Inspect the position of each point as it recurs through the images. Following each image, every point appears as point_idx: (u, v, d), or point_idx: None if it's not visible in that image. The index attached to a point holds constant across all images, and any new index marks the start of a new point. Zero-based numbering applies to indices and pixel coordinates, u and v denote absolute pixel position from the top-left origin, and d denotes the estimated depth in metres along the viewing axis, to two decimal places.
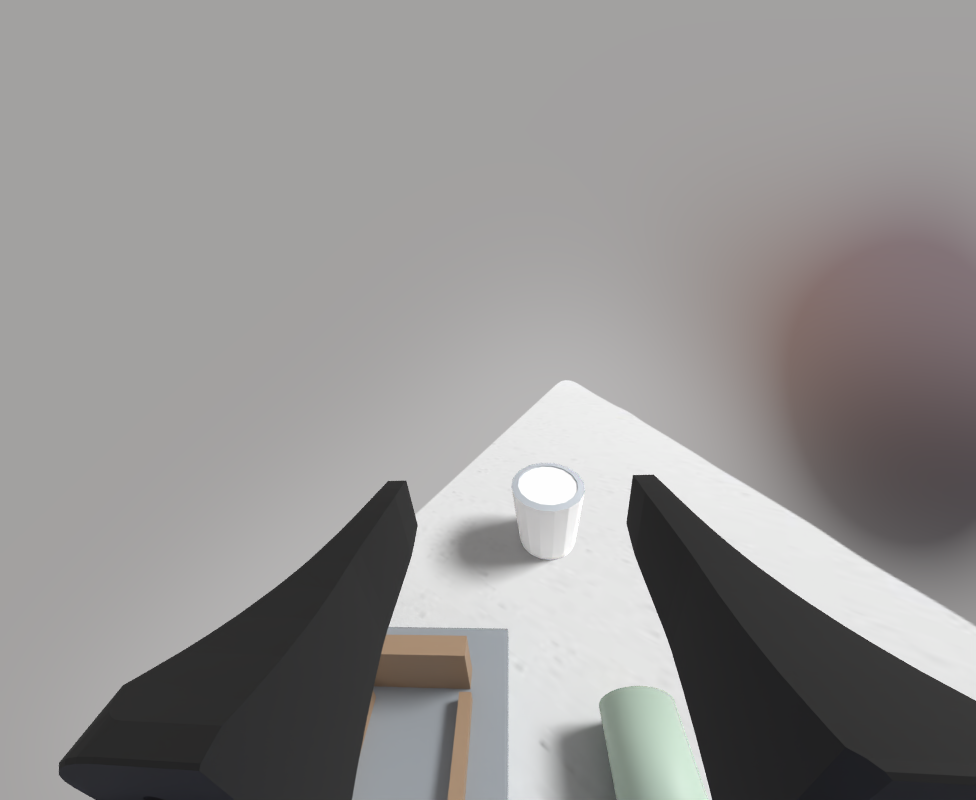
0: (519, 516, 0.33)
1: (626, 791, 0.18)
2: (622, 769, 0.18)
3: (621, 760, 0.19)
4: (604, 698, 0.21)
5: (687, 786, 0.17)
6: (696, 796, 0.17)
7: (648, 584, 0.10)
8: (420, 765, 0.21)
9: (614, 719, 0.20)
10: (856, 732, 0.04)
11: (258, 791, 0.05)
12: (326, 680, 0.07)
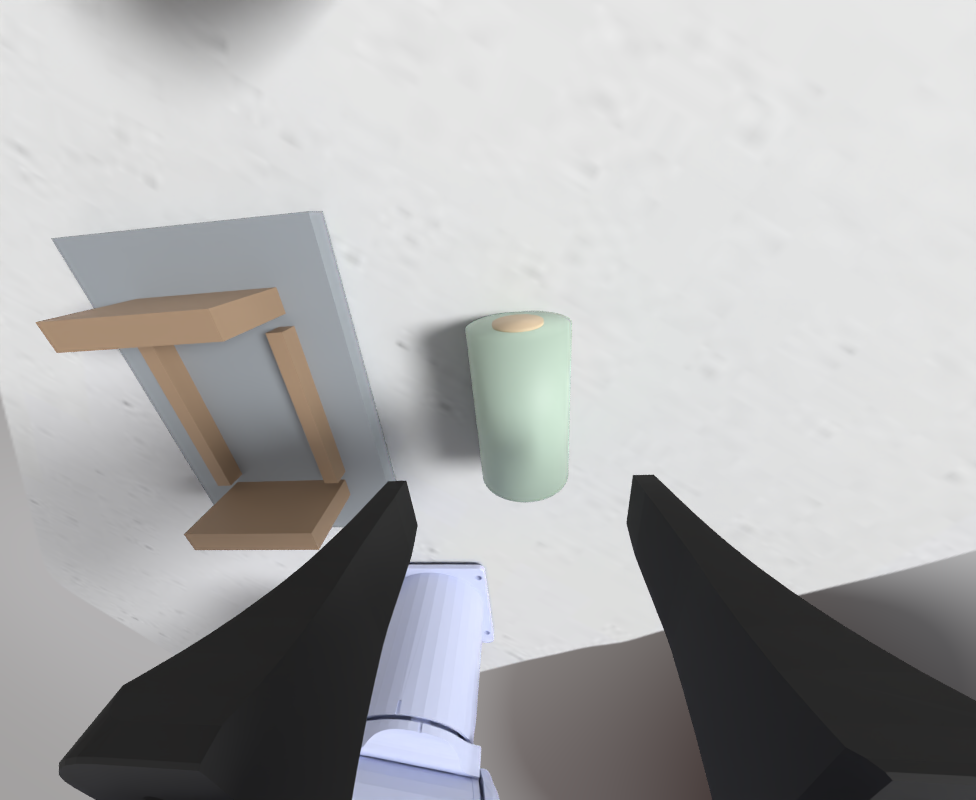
0: None
1: (483, 424, 0.16)
2: (482, 409, 0.15)
3: (482, 403, 0.15)
4: (470, 338, 0.14)
5: (548, 428, 0.15)
6: (555, 430, 0.15)
7: (648, 584, 0.10)
8: (265, 390, 0.18)
9: (480, 368, 0.14)
10: (857, 731, 0.04)
11: (258, 790, 0.05)
12: (326, 680, 0.07)
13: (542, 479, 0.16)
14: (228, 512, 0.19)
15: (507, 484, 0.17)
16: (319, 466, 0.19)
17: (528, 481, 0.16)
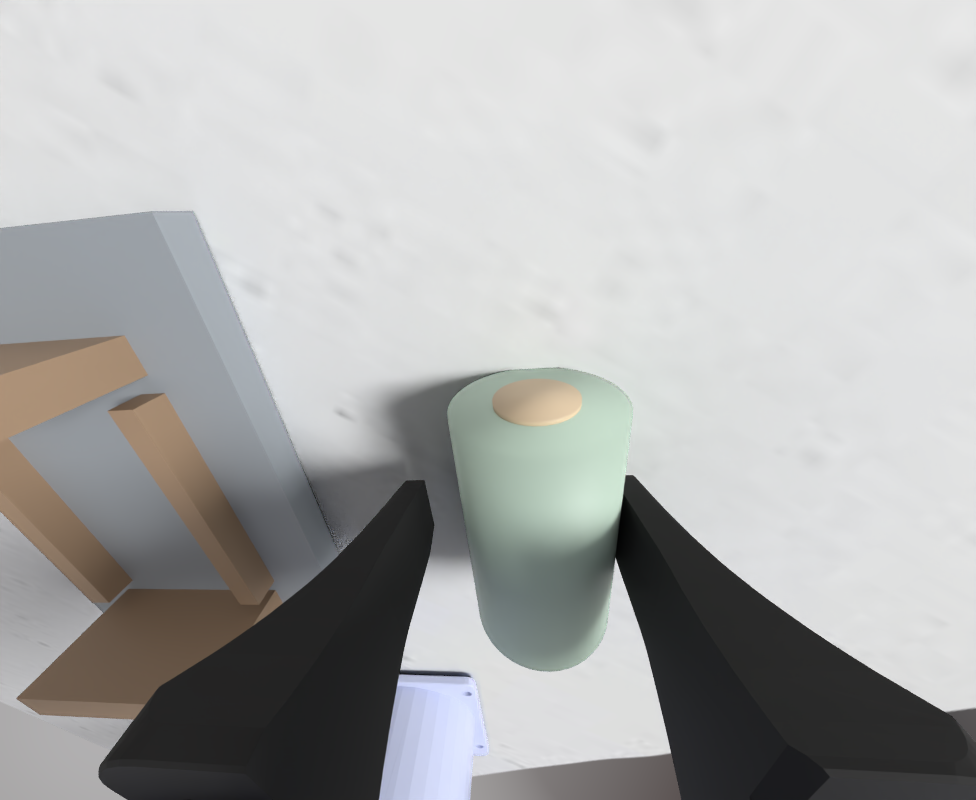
0: None
1: (488, 569, 0.09)
2: (486, 550, 0.09)
3: (487, 542, 0.09)
4: (464, 443, 0.08)
5: (600, 569, 0.09)
6: (608, 566, 0.09)
7: (626, 584, 0.10)
8: (141, 479, 0.12)
9: (484, 493, 0.08)
10: (801, 729, 0.04)
11: (297, 794, 0.05)
12: (355, 681, 0.07)
13: (586, 636, 0.10)
14: (95, 652, 0.13)
15: (530, 651, 0.10)
16: (228, 585, 0.13)
17: (566, 645, 0.10)
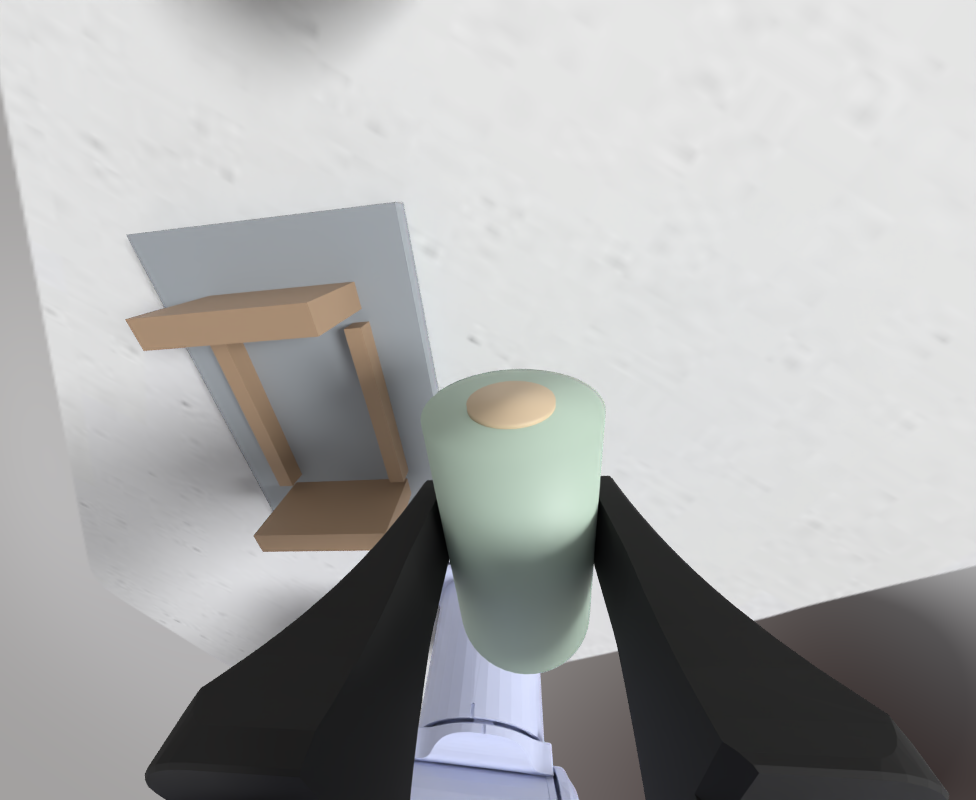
0: None
1: (450, 555, 0.10)
2: (447, 536, 0.09)
3: (446, 529, 0.09)
4: (423, 432, 0.08)
5: (554, 585, 0.09)
6: (567, 585, 0.09)
7: (601, 584, 0.10)
8: (333, 387, 0.18)
9: (438, 482, 0.08)
10: (738, 727, 0.04)
11: (342, 796, 0.05)
12: (390, 682, 0.07)
13: (542, 649, 0.10)
14: (294, 513, 0.19)
15: (486, 644, 0.10)
16: (385, 465, 0.19)
17: (519, 650, 0.10)
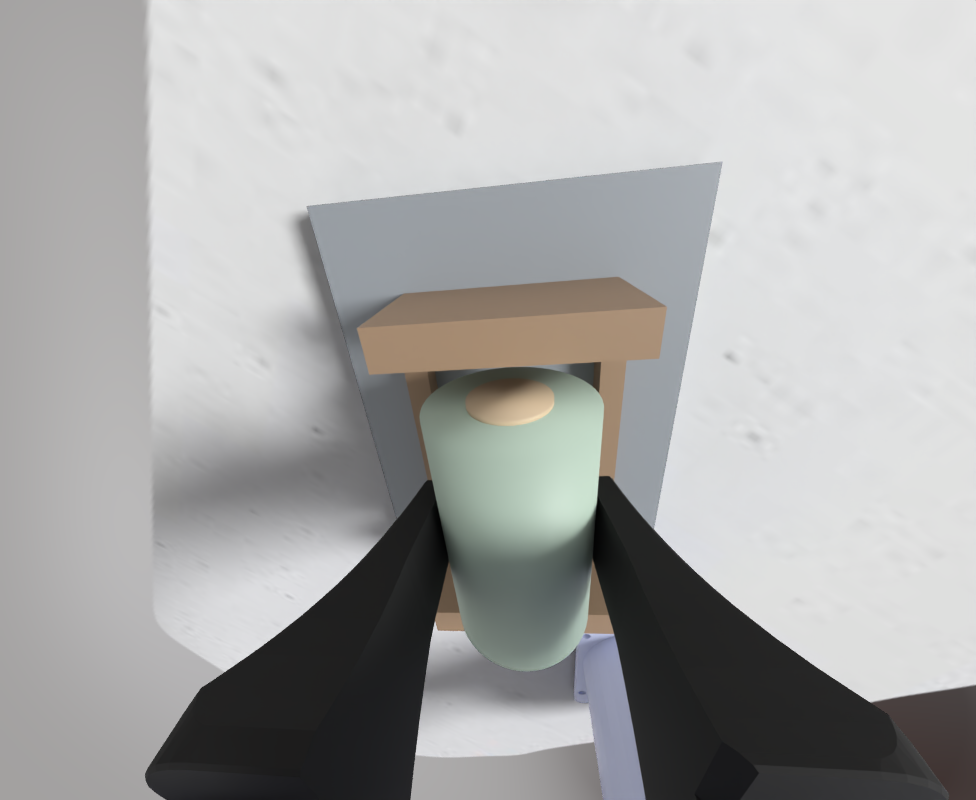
0: None
1: (448, 550, 0.10)
2: (445, 532, 0.10)
3: (444, 525, 0.09)
4: (421, 428, 0.08)
5: (550, 583, 0.09)
6: (564, 583, 0.09)
7: (601, 584, 0.10)
8: None
9: (435, 478, 0.08)
10: (737, 727, 0.04)
11: (343, 796, 0.05)
12: (390, 682, 0.07)
13: (539, 646, 0.10)
14: None
15: (483, 640, 0.10)
16: None
17: (516, 647, 0.10)
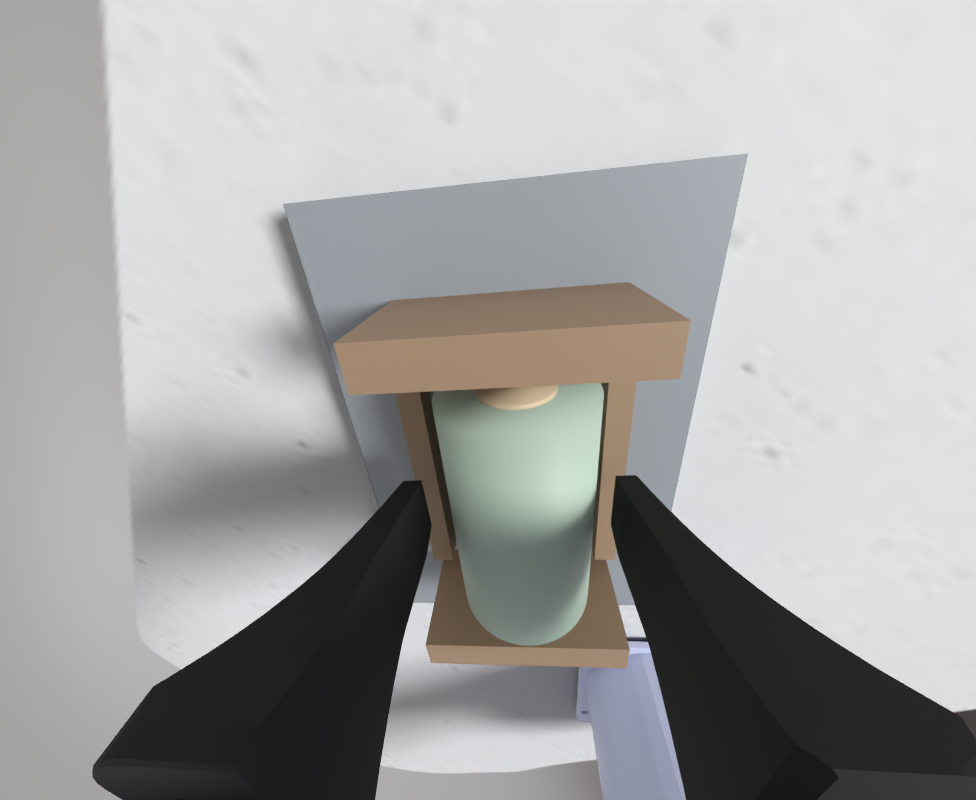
0: None
1: (459, 533, 0.10)
2: (456, 515, 0.10)
3: (455, 508, 0.10)
4: (435, 415, 0.09)
5: (558, 556, 0.09)
6: (570, 556, 0.10)
7: (629, 584, 0.10)
8: None
9: (449, 462, 0.09)
10: (809, 730, 0.04)
11: (291, 793, 0.05)
12: (351, 681, 0.07)
13: (547, 619, 0.11)
14: (468, 604, 0.14)
15: (493, 618, 0.11)
16: (597, 539, 0.14)
17: (525, 621, 0.11)
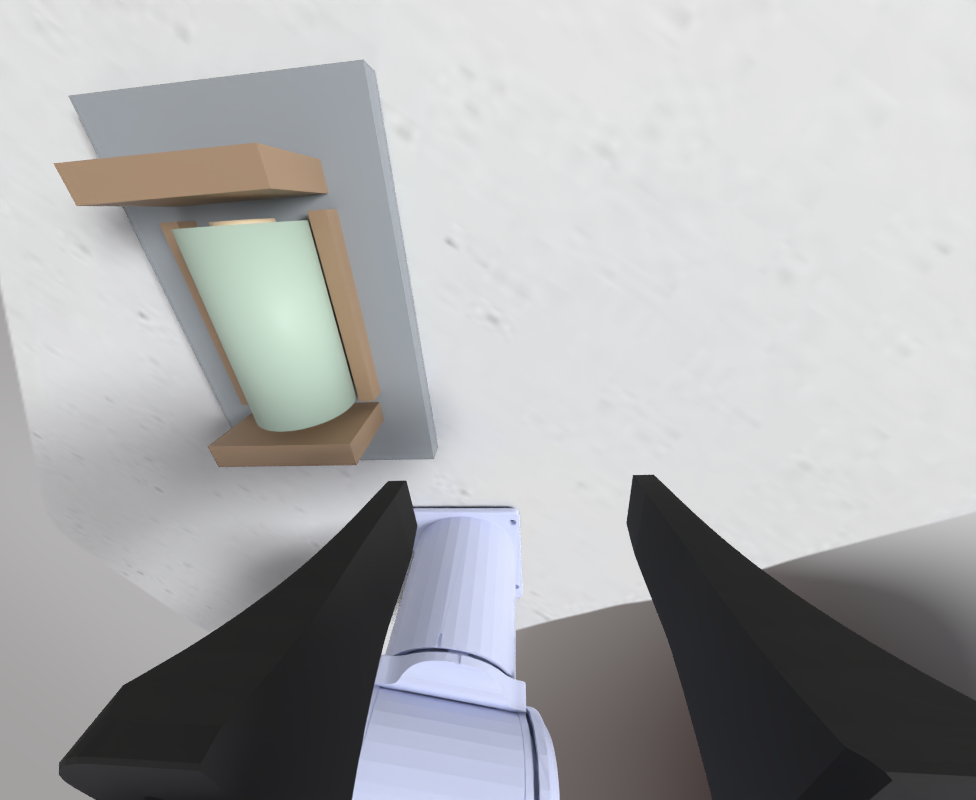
0: None
1: (222, 343, 0.14)
2: (214, 324, 0.14)
3: (211, 315, 0.13)
4: (173, 233, 0.12)
5: (295, 337, 0.14)
6: (307, 341, 0.14)
7: (648, 584, 0.10)
8: None
9: (192, 268, 0.12)
10: (858, 732, 0.04)
11: (258, 790, 0.05)
12: (326, 680, 0.07)
13: (307, 400, 0.15)
14: (254, 429, 0.18)
15: (267, 412, 0.15)
16: (355, 380, 0.18)
17: (290, 404, 0.15)
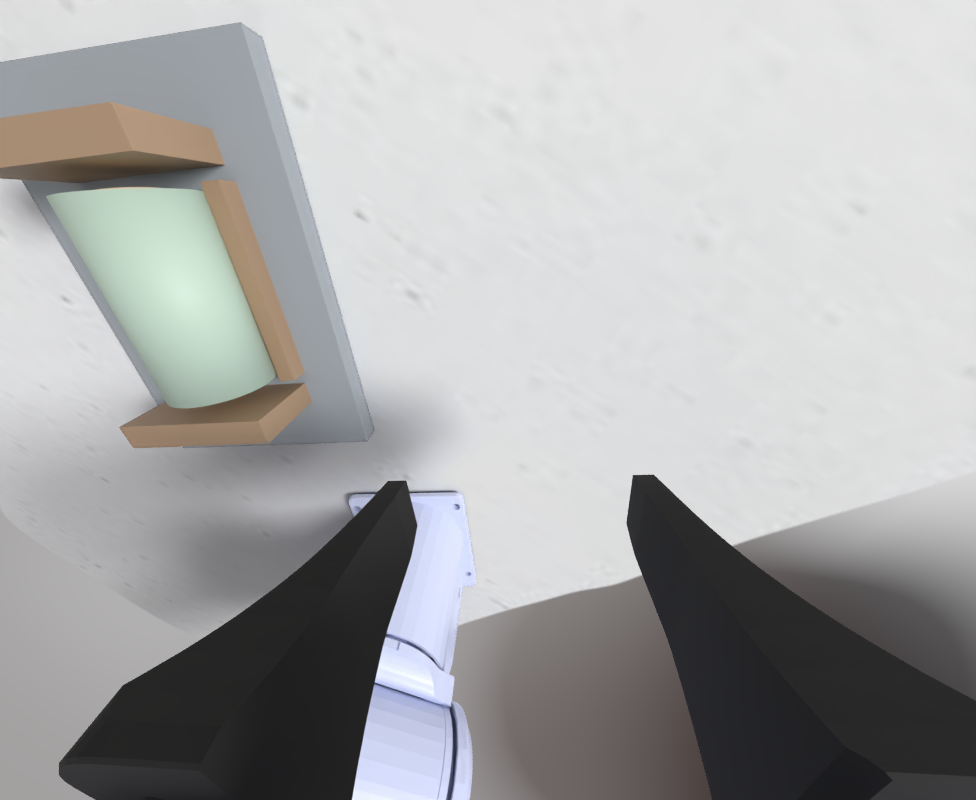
0: None
1: (116, 317, 0.14)
2: (104, 296, 0.13)
3: (100, 287, 0.13)
4: None
5: (191, 309, 0.14)
6: (206, 313, 0.14)
7: (648, 584, 0.10)
8: None
9: (71, 238, 0.12)
10: (858, 733, 0.04)
11: (258, 791, 0.05)
12: (326, 680, 0.07)
13: (212, 375, 0.15)
14: (172, 410, 0.18)
15: (171, 387, 0.15)
16: (272, 359, 0.18)
17: (193, 379, 0.15)
